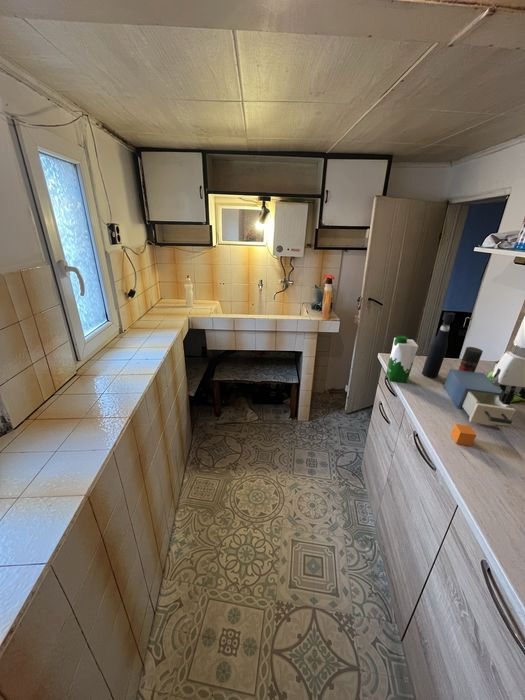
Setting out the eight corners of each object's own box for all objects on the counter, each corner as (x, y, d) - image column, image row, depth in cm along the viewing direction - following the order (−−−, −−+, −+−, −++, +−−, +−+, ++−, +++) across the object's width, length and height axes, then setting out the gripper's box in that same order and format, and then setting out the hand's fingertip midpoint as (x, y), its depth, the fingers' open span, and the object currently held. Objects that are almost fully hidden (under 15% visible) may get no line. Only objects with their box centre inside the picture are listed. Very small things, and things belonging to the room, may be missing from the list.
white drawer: (514, 437, 92) (524, 419, 89) (476, 430, 94) (484, 413, 91) (486, 403, 109) (494, 387, 106) (454, 398, 111) (460, 383, 108)
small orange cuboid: (465, 436, 93) (470, 425, 91) (471, 446, 89) (476, 435, 87) (450, 434, 94) (455, 423, 92) (455, 443, 90) (460, 432, 88)
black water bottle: (420, 375, 130) (440, 313, 117) (422, 370, 135) (442, 309, 122) (436, 380, 127) (458, 316, 114) (437, 374, 131) (459, 312, 119)
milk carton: (383, 372, 131) (393, 332, 123) (404, 374, 130) (415, 334, 121) (388, 382, 123) (399, 340, 115) (409, 384, 122) (422, 342, 114)
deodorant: (453, 375, 131) (463, 346, 125) (467, 377, 130) (478, 347, 124) (458, 381, 126) (470, 351, 120) (473, 383, 125) (485, 353, 118)
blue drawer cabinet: (494, 414, 105) (504, 393, 101) (457, 408, 107) (465, 388, 103) (476, 391, 119) (483, 373, 115) (443, 387, 121) (450, 368, 117)
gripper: (547, 349, 86) (523, 399, 94) (492, 344, 89) (473, 392, 97) (565, 360, 79) (537, 412, 87) (505, 354, 82) (483, 405, 90)
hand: (503, 402), depth 92 cm, fingers closed
